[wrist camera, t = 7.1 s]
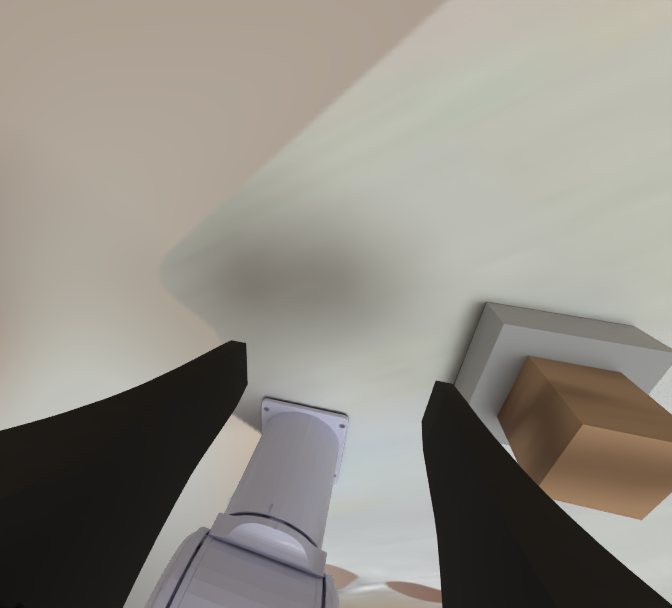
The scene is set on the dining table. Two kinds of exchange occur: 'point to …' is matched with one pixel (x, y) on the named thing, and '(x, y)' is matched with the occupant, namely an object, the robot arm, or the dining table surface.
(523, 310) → the base
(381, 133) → the dining table surface
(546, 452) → the block
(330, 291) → the dining table surface
